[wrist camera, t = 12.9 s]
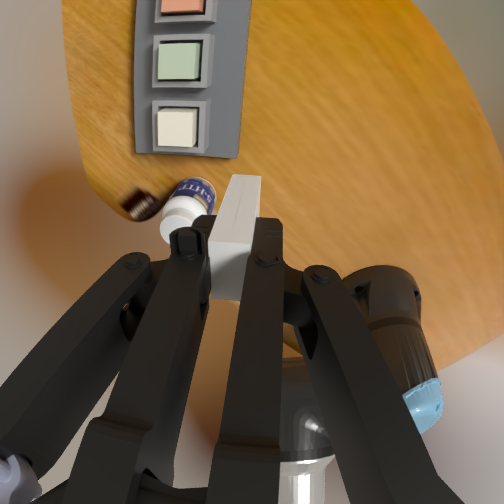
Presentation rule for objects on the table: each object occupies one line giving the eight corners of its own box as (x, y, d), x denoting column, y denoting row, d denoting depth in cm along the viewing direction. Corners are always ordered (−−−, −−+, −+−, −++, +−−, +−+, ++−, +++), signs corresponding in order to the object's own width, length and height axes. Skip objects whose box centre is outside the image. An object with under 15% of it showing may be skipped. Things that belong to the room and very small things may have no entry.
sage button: (201, 76, 29) (194, 78, 26) (167, 76, 29) (157, 79, 26) (203, 43, 26) (196, 43, 24) (169, 44, 26) (159, 44, 24)
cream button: (198, 138, 33) (191, 147, 30) (167, 137, 33) (158, 145, 30) (199, 107, 31) (192, 112, 28) (167, 106, 31) (157, 111, 28)
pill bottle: (222, 184, 39) (208, 220, 31) (209, 218, 42) (195, 259, 34) (182, 169, 38) (159, 202, 31) (172, 204, 41) (149, 242, 34)
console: (238, 153, 36) (233, 166, 32) (142, 147, 36) (127, 160, 33) (254, -29, 23) (251, -40, 19) (146, -25, 23) (130, -32, 19)
